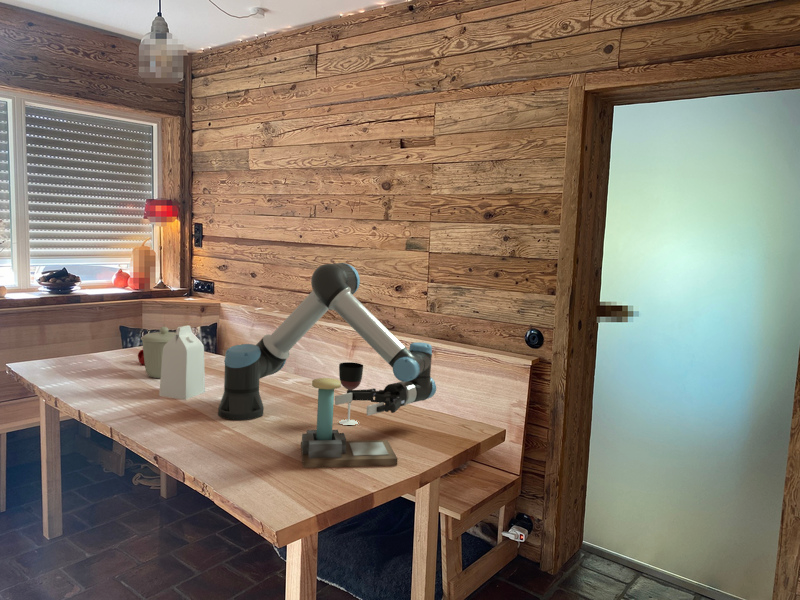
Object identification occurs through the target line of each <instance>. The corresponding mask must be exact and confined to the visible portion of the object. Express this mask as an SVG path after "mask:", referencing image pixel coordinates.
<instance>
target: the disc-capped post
mask: <svg viewBox="0 0 800 600" xmlns="http://www.w3.org/2000/svg"><path fill="white" fill-rule="evenodd" d="M311 386H312V387H313V388H315V389H318V390H317V412H316V413H317V414H316V415H317V417H316V430H317V433H316V440H332V430H333V422H334V419H333V418H334V404H335V390H336V389H340V388H341V386H342V384H341V381H340V379H335V378H331V377H323V378H322V377H319V378H315V379H312V382H311Z"/></svg>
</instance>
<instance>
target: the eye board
mask: <svg viewBox="0 0 800 600" xmlns="http://www.w3.org/2000/svg"><path fill="white" fill-rule="evenodd" d="M316 433H317V429H307V430H306V433H301V434H302V435H301V441H300V453H301V454H300V455H301V461H302V462H301V463H302V468H304V469H310V468H313V469H315V468H344V467H346V468H350V467H353V468H354V467H356V468H357V467H383V466H384V467H385V466H387V467H388V466H390V467H391V466H393V467H394V466H398V460H399V459H398V457H397V454H396V453H395V451H394V449H393V448H392V446H391V444H390V442H389V440H388V439H379V440H378V439H376V440H347V438H346V435H345V433H344V432H339V430H338V429H332V440H316Z"/></svg>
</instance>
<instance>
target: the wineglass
mask: <svg viewBox="0 0 800 600" xmlns="http://www.w3.org/2000/svg"><path fill="white" fill-rule="evenodd" d="M338 365H339V366H338V372H339V373H338V374H339V375H338V377H339V380H340V381H341V386H342V387H343V388H344V389H346V390H356V389H357V388H358V387H359V386H360V384H361V383H362V379H363V373H364V371H363V370H364V365H363V364H362V363H358V362H353V361H352V362H351V361H349V362H346V361H345V362H340V363H339V364H338ZM347 404H348V405H347V419H346V418H345V420H344V419H340V420H341V421H339V420H338V421H339V423H340V424H343V425H355V424H358V422H359V421H358V420H356V419H351V403H349V402H348V403H347ZM350 419H351V420H350ZM355 420H356V421H355ZM357 421H358V422H357ZM358 425H359V424H358Z"/></svg>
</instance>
